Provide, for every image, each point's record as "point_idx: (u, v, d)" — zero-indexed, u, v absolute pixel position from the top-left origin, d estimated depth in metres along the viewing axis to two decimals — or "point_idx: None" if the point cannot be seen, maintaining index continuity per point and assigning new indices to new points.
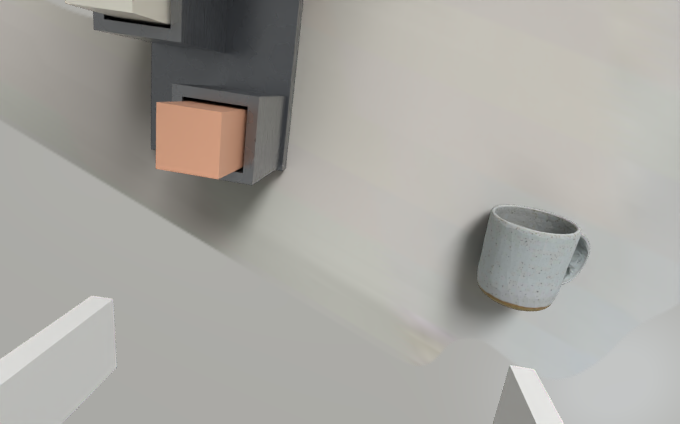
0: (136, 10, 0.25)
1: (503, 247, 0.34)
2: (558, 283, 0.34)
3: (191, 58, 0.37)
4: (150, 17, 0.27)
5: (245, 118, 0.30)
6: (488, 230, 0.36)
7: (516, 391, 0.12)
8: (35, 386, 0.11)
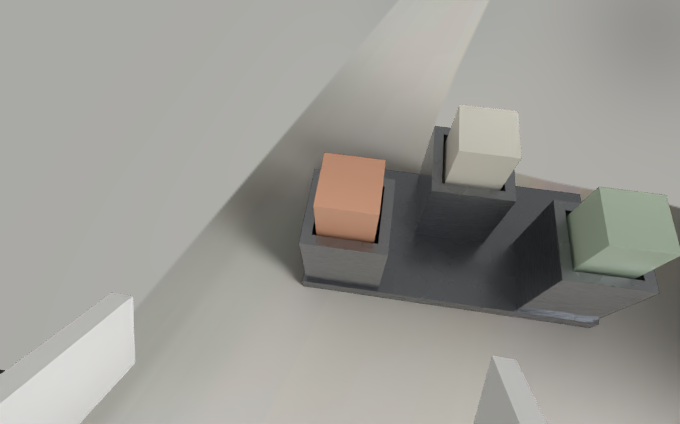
0: (460, 154, 0.29)
1: None
2: None
3: (407, 204, 0.41)
4: (452, 166, 0.31)
5: (365, 241, 0.31)
6: None
7: (497, 380, 0.12)
8: (62, 380, 0.11)
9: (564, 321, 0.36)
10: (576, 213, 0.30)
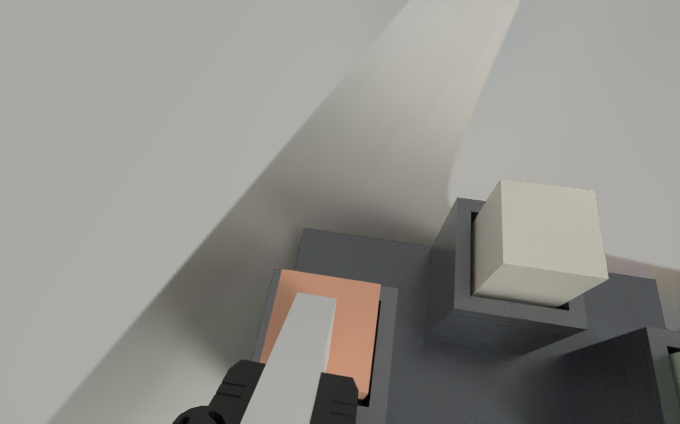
0: (505, 267, 0.18)
1: None
2: None
3: (414, 292, 0.29)
4: (489, 278, 0.19)
5: None
6: None
7: None
8: None
9: None
10: None
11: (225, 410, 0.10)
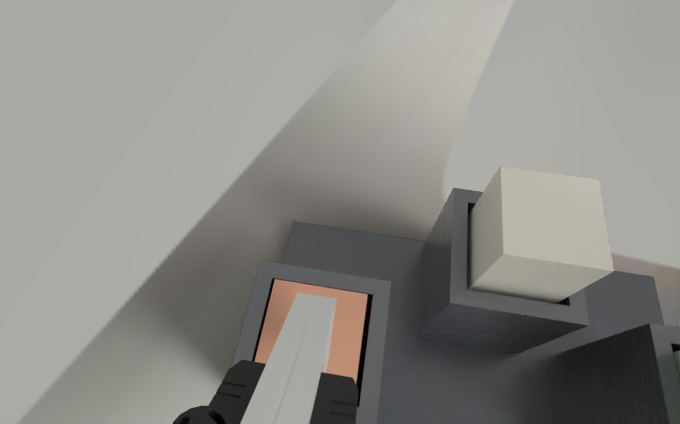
0: (504, 258, 0.17)
1: None
2: None
3: (407, 288, 0.28)
4: (488, 270, 0.18)
5: None
6: None
7: None
8: None
9: None
10: None
11: (225, 410, 0.10)
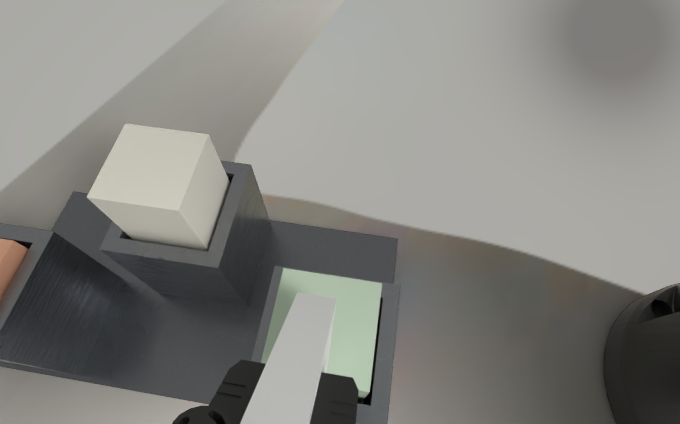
0: (96, 202, 0.19)
1: None
2: None
3: None
4: (109, 217, 0.20)
5: None
6: None
7: None
8: None
9: None
10: None
11: (225, 410, 0.10)
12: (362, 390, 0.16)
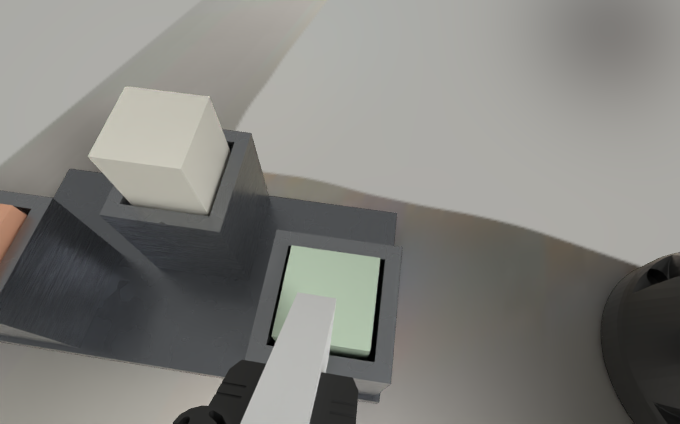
0: (97, 162, 0.19)
1: None
2: None
3: None
4: (110, 180, 0.20)
5: None
6: None
7: None
8: None
9: None
10: None
11: (225, 410, 0.10)
12: (363, 350, 0.18)
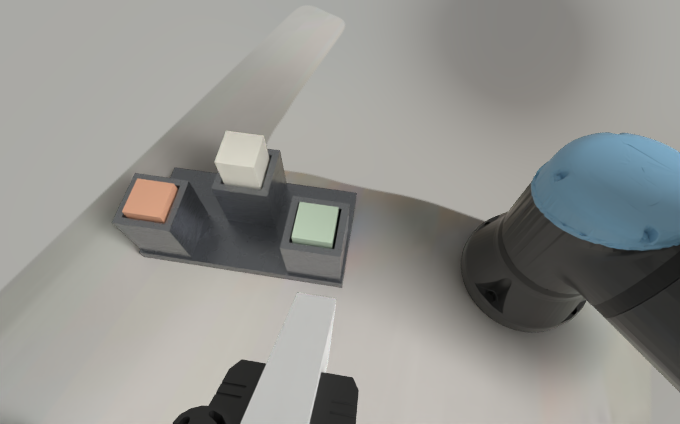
0: (217, 164, 0.44)
1: None
2: None
3: None
4: (219, 172, 0.46)
5: None
6: None
7: None
8: None
9: (321, 282, 0.51)
10: None
11: (225, 410, 0.10)
12: (329, 243, 0.43)
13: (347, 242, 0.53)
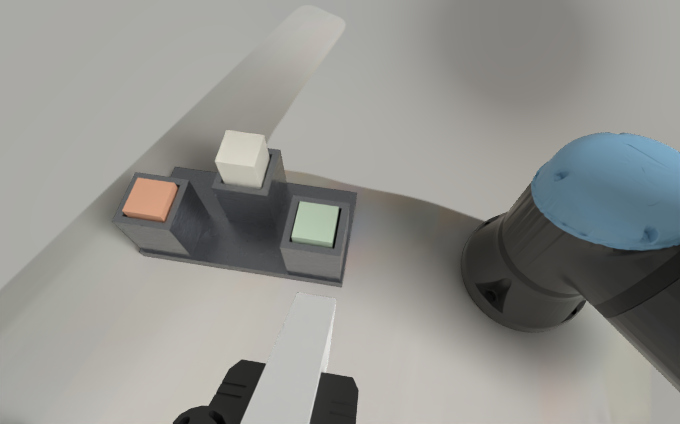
0: (217, 164, 0.44)
1: None
2: None
3: None
4: (219, 171, 0.46)
5: None
6: None
7: None
8: None
9: (321, 282, 0.51)
10: None
11: (225, 410, 0.10)
12: (329, 242, 0.43)
13: (347, 242, 0.53)
